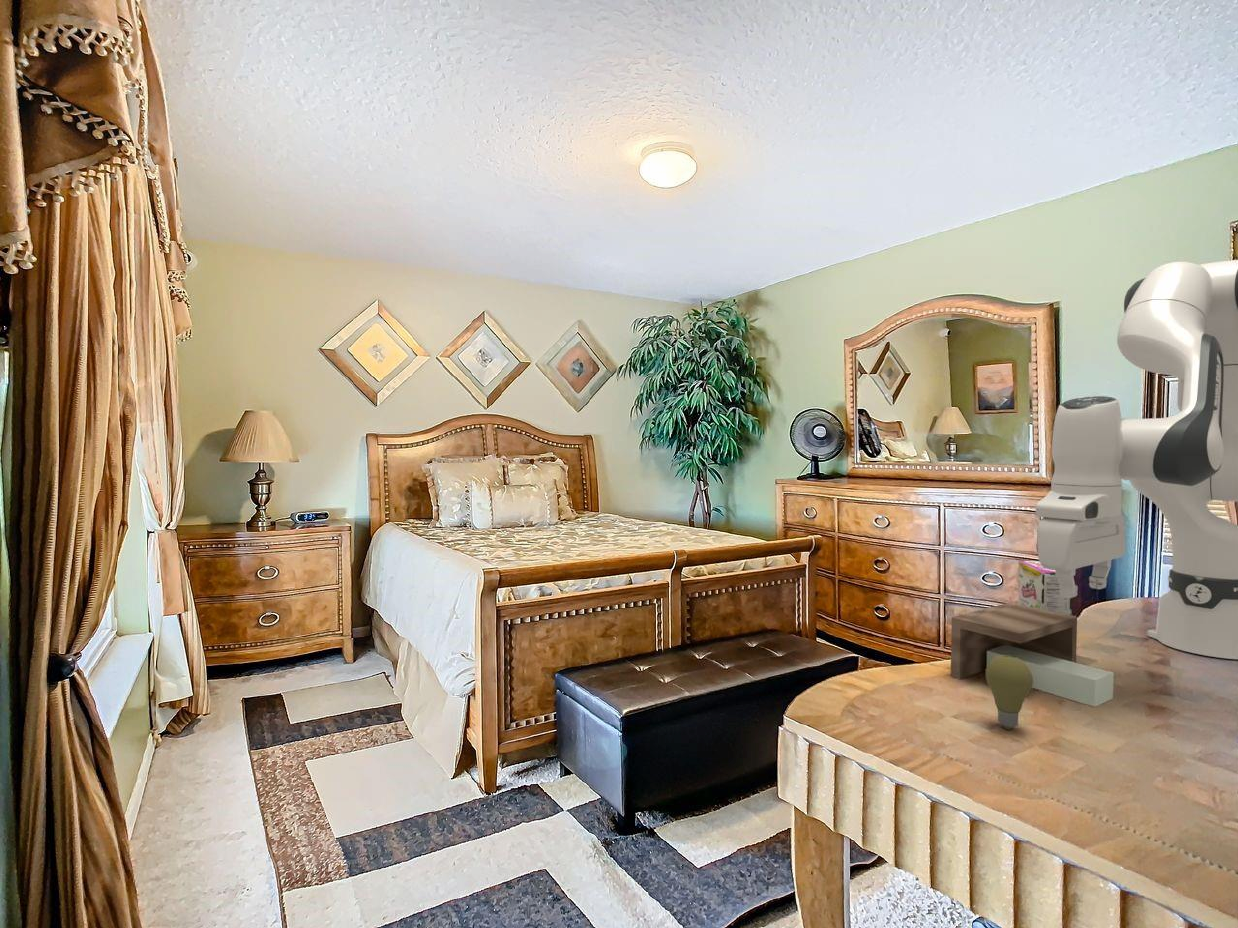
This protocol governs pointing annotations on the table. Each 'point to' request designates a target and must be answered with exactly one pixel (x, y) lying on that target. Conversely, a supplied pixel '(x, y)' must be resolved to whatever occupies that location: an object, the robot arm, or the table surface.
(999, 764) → the table surface
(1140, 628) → the table surface
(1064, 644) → the walnut shelf
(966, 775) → the table surface
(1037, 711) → the table surface
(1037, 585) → the candy bar box
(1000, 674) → the light bulb
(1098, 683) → the mint green beam
